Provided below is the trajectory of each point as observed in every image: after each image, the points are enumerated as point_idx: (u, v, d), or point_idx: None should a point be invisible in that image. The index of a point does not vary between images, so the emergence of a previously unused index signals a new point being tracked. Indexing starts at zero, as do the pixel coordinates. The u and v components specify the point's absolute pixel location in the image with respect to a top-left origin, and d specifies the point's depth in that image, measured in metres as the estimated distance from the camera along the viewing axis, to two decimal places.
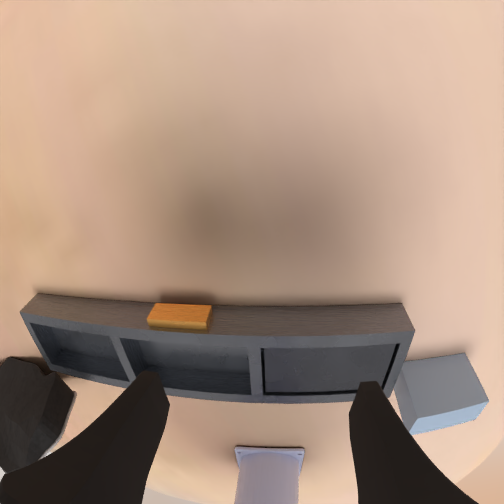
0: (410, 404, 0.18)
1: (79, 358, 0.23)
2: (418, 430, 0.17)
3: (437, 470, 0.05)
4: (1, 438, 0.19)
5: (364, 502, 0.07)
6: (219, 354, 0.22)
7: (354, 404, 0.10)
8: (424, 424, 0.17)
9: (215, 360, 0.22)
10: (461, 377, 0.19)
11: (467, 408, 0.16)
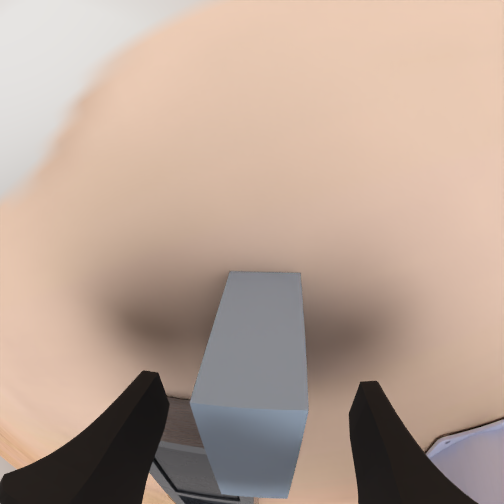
0: None
1: None
2: (269, 492, 0.09)
3: (437, 470, 0.05)
4: None
5: (364, 502, 0.07)
6: None
7: (354, 404, 0.10)
8: (250, 489, 0.09)
9: None
10: None
11: (210, 447, 0.07)
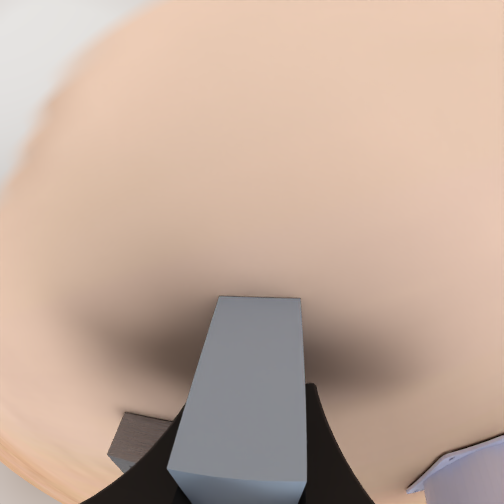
0: None
1: None
2: None
3: (357, 485, 0.05)
4: None
5: None
6: None
7: None
8: None
9: None
10: None
11: (196, 500, 0.05)
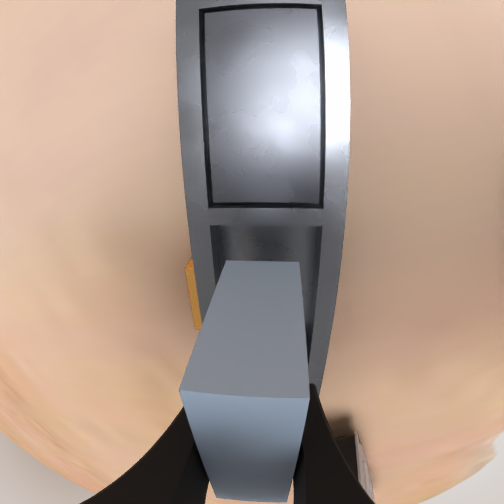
0: None
1: None
2: (267, 496, 0.08)
3: (357, 485, 0.05)
4: None
5: None
6: (277, 254, 0.16)
7: None
8: (246, 492, 0.08)
9: (290, 260, 0.17)
10: None
11: (202, 443, 0.07)
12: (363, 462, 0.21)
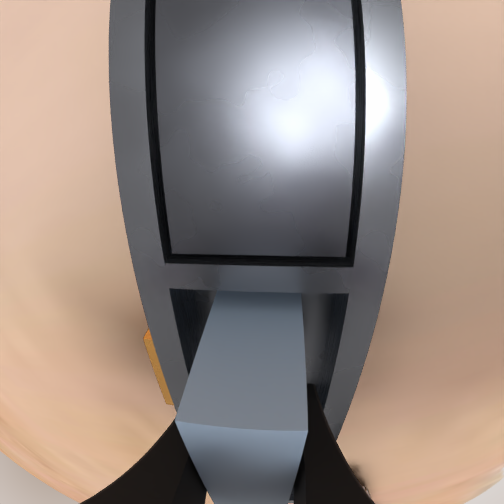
0: None
1: None
2: None
3: (357, 485, 0.05)
4: None
5: None
6: None
7: None
8: None
9: None
10: None
11: (201, 464, 0.06)
12: None
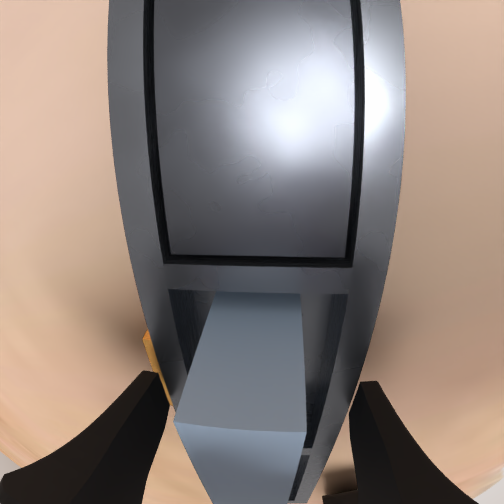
0: None
1: (298, 472, 0.16)
2: None
3: (437, 470, 0.05)
4: None
5: (364, 502, 0.07)
6: None
7: (354, 404, 0.10)
8: None
9: None
10: None
11: (199, 465, 0.06)
12: None
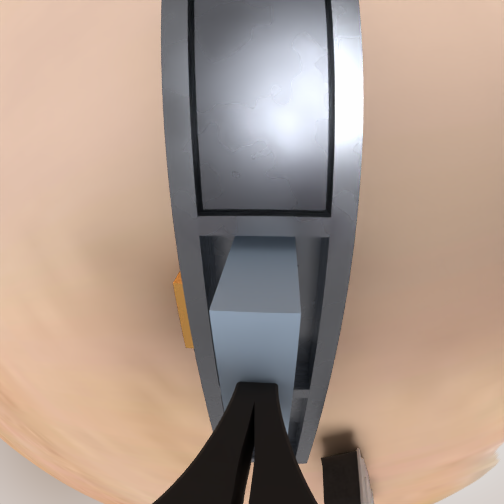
0: None
1: (298, 429, 0.20)
2: None
3: (305, 489, 0.05)
4: None
5: None
6: None
7: None
8: None
9: None
10: None
11: (221, 363, 0.10)
12: (365, 478, 0.19)
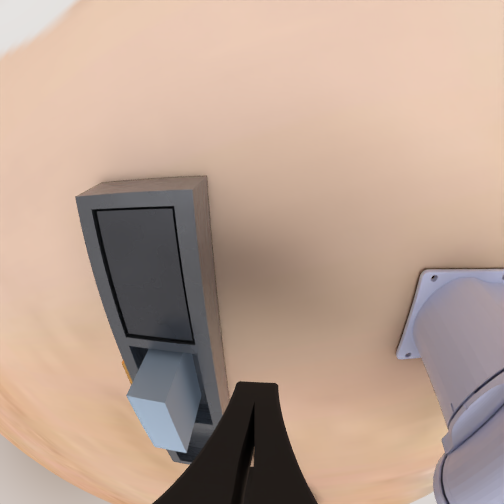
0: None
1: None
2: (175, 446, 0.19)
3: (305, 489, 0.05)
4: None
5: None
6: None
7: None
8: (165, 443, 0.19)
9: None
10: None
11: (139, 415, 0.17)
12: None
